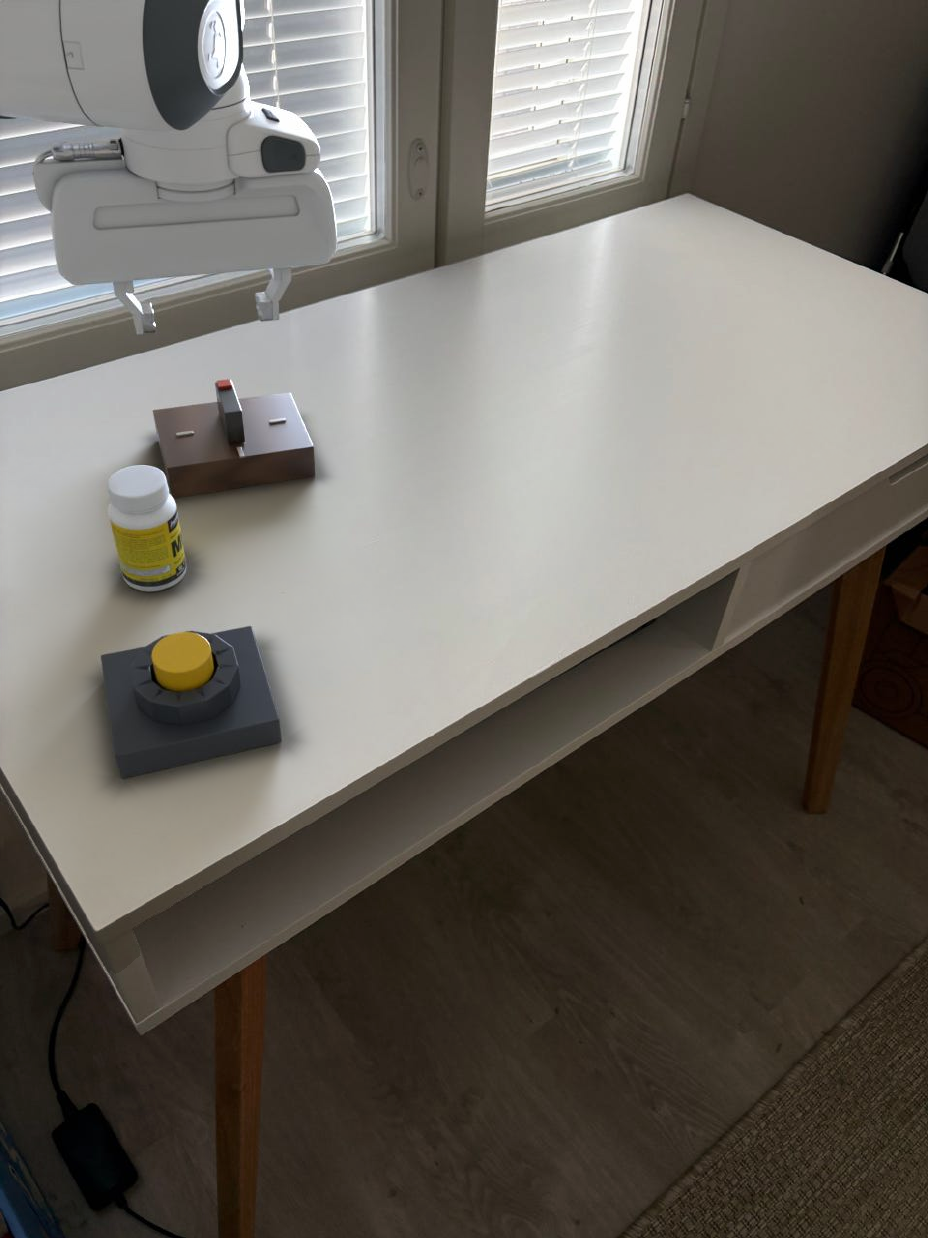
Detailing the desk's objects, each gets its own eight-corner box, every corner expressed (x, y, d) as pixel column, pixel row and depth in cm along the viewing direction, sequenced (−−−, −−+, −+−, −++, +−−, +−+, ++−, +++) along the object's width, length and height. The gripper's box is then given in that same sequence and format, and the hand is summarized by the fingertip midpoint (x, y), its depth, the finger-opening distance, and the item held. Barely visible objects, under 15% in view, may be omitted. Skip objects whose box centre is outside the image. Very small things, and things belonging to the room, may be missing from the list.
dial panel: (172, 499, 83) (166, 467, 81) (157, 438, 89) (151, 407, 87) (315, 476, 86) (314, 445, 84) (291, 420, 92) (289, 389, 90)
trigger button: (159, 697, 62) (155, 678, 61) (152, 657, 65) (147, 638, 63) (218, 685, 63) (215, 665, 62) (208, 646, 66) (205, 626, 65)
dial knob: (245, 442, 84) (241, 408, 82) (228, 444, 84) (224, 410, 81) (235, 410, 87) (231, 377, 85) (218, 413, 87) (214, 379, 85)
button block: (120, 779, 62) (108, 737, 59) (106, 677, 68) (95, 635, 65) (282, 742, 65) (277, 700, 62) (254, 647, 71) (249, 605, 68)
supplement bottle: (190, 588, 75) (174, 496, 69) (124, 598, 74) (103, 505, 68) (183, 548, 78) (167, 457, 73) (120, 557, 77) (99, 465, 71)
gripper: (28, 160, 64) (71, 358, 73) (342, 144, 70) (344, 329, 79) (23, 127, 68) (64, 319, 78) (319, 115, 74) (323, 294, 84)
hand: (208, 324), depth 79 cm, fingers open, 8 cm apart
